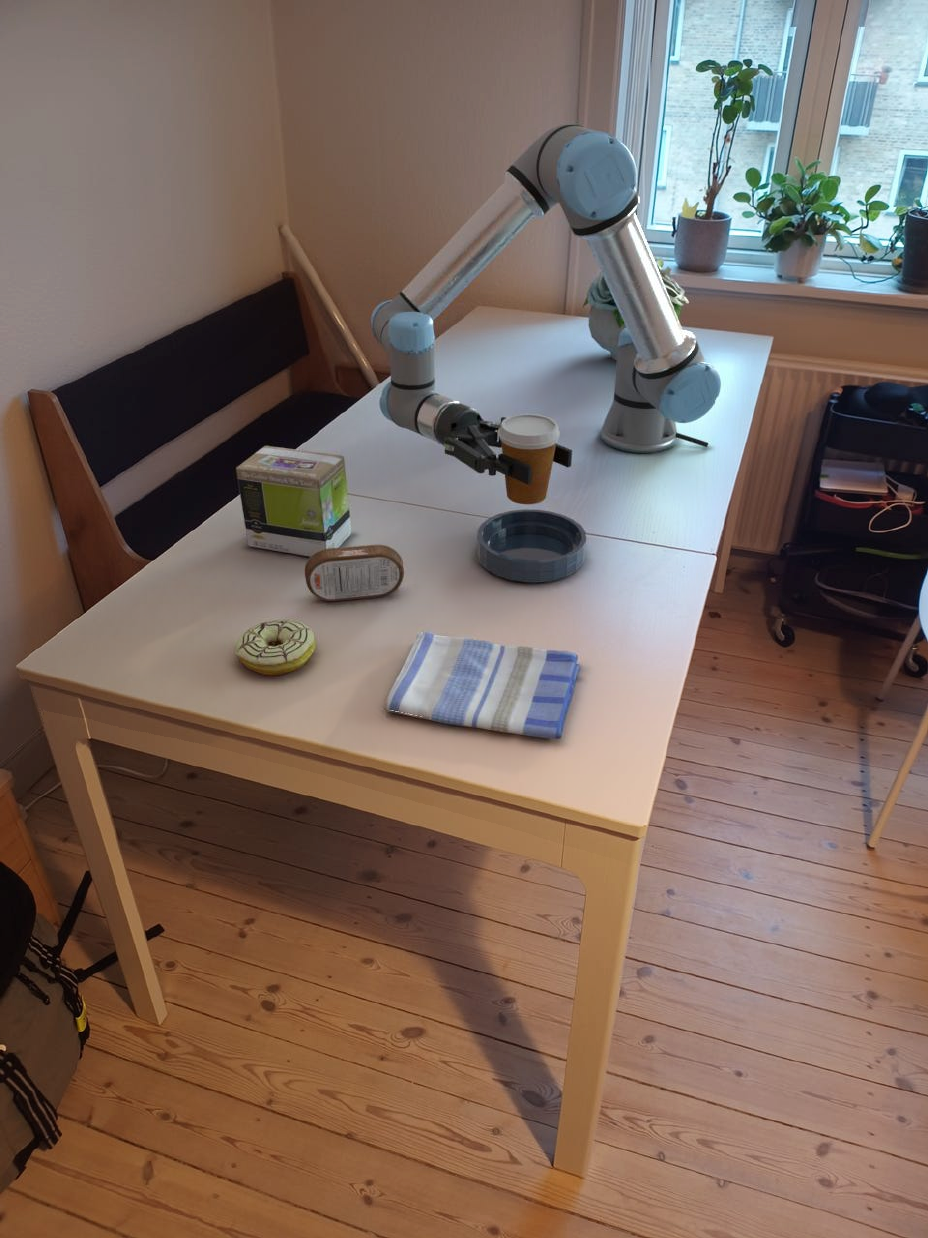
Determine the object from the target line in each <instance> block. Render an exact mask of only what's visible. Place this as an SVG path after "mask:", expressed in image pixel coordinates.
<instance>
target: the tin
mask: <svg viewBox="0 0 928 1238" xmlns="http://www.w3.org/2000/svg"><path fill="white" fill-rule="evenodd" d="M404 575H405V570H404V561H403V558H402V555H400V553H399V552H398V551H397V550H396V549H394V548H392V547H391V546H388V545H385V544H368V545H357V546H356V545H355V546H343V547H341V546H340V547H339V548H328V549H324V550H321V551H318V552H317V553H315V554H314V555H312V556H311V557H309V558H308V560H307V561H306V563H305V566H304V577H305V584H306V587H307V589H308V591H310V593H311V594H312V595H313V596H314V597H316V598H317V599H320V600H321V601H322V600H323V601H326V602H340V601H350V600H351V601H352V600H353V601H354V600H363V599H375V598H383V597H386V596H389V595H391V594H393V593H394V592H396V591H397V590H398V588H400V587H401V585H402V583H403V580H404Z"/></svg>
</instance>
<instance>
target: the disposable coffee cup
mask: <svg viewBox="0 0 928 1238" xmlns="http://www.w3.org/2000/svg"><path fill="white" fill-rule="evenodd" d="M497 432H498V438H499V437H500V440H501V444H502V448H501V453H502V454H504V455H507V456H509V457H511V458H513V459H516V460H518V461H520V462H522V463H525V464H527V465H529V466H532V482H531V484H528V485H527V484H525V483H523V482H521V481H519V480H517V479H514V478H512V477H510V476H508V475H504V481H505V490H506V491H505V492H506V497H507V499H508V500H509V501H511V502H513V503H515V504H519V505H536V504H540V503H541V502H544V501H545V500H546V499H547V496H548V495H547V494H548V489H549V484H550V480H551V473H552V469H553V463H554V462H553V458H554V453H555V447H556V444H557V443H558V441H559V439H560V437H561V431H560V429H559V426H558V422H557V421H556V420H555V419H553V418H551V417H549V416H546V415H542V414H536V413H519V414H515V415H510V416H508V417H507V418H506V419H504V420H503V421H502V423H501V427H500V428H499V430H498V431H497Z"/></svg>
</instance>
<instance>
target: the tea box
mask: <svg viewBox="0 0 928 1238" xmlns="http://www.w3.org/2000/svg"><path fill="white" fill-rule="evenodd" d="M345 463H346V462H345V456H344V455H342V454H333V453H324V452H318V451H317V452H316V451H309V450H303V449H302V450H301V449H294V448H285V447H278V446H270V445H264V446H263V447H261V448H260V449H259V450H257V451H256V452H254V454H252V455H251V456H249V458H247V459H245V460H244V461H243V462H242V463H241V464H239V465H237V466H236V468H235V472H236V478H237V483H238V484H237V485H238V491H239V497H240V502H241V503H240V504H241V509H242V516H243V522H244V528H245V534H246V539H247V545H248V547H251V548H258V549H263V550H268V551H269V550H270V551H275V552H280V553H287V554H291V555H298V556H303V557H309V558H310V557H311V556H312V555H314V554H315V553H317V552H318V551H321V550H324V549H328V548H341V546H342V544H344V543H345V541H346V540H347V539H348V538H349V537H350V536H351V534H352V533H351V532H352V527H351V514H350V513H351V512H350V504H349V493H348V483H347V481H348V480H347V471H346V470H347V469H346V464H345Z"/></svg>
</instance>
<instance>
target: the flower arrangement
mask: <svg viewBox="0 0 928 1238" xmlns="http://www.w3.org/2000/svg"><path fill="white" fill-rule="evenodd" d="M653 259H654V261H655V264H656V266H657V269H658V271H659V273H660V276H661V278H662V281H663V283H664V286H665V288H666V291H667V293H668V295H669V298H670V300H671V303H672V305H673V308H674V310H675V313H676V315H677V317H678V320H679V321H680V315H681V309H682V306H684V304H685V303H686V304H689V303H690V302H689V300H688V299H687V296H685V293H686V292H685V290H684V289H683V288H681V287H680V286H679V284H678V283H677V281H676V280H675V279H673V278H672V277H671V271H673V270H672V268H671V267H670V266H667V267H665V268H664V269H663V267H664V264H665V263H664V262H665V261H664V259H663V258H662V257H659V258H657V257H653ZM684 301H685V303H684ZM588 304H589V305H590V308H589V311H588V328H589V332H590V336H591V338H592V339H593V340H594V341H595V342H596V343H597V344H598V346H599V347H600V348H602V349H603V350H605V351H608V352H609V353H610V357H611V358H612V359H613V360H614V361H616V362H617V352H618V348H617V345H618V342H619V337H620V333H621V331H622V330H623V329H624V328H626V325H625V323H624V321H623V318H622V316H621V314H620V312H619V309H618V307H617V305H616V303H615V301H614V298H613V296H612V294H611V292H610V290H609V287H608V285H607V283H606V281H605V279H604V276H603V274H602V272H601V270H600V271H599V273H598V275H597V276H596V277H595V278H594V279H592V281H591V283H590V286H589V287H588V290H587V292H586V298H585V300H584V302H583V305H582V306H581V308H584V307H585V306H587V305H588Z"/></svg>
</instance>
